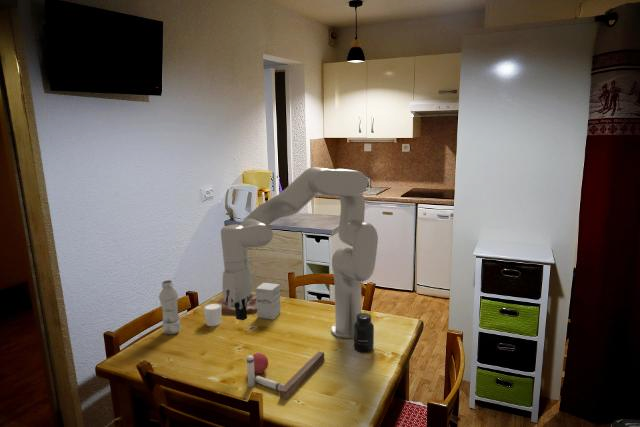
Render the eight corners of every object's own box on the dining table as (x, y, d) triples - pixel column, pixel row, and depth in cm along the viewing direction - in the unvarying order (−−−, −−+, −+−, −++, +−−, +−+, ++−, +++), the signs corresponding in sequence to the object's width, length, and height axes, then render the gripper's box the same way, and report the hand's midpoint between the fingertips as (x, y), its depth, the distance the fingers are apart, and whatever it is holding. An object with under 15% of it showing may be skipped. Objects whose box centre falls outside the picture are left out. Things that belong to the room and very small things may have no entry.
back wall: (324, 359, 145) (324, 352, 144) (285, 399, 124) (285, 391, 123) (318, 358, 146) (318, 351, 145) (279, 397, 125) (279, 389, 124)
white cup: (226, 321, 175) (225, 305, 174) (213, 328, 170) (212, 311, 168) (213, 318, 179) (212, 301, 178) (201, 324, 173) (199, 307, 172)
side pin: (256, 383, 132) (255, 356, 130) (252, 387, 130) (250, 359, 128) (250, 382, 133) (249, 354, 131) (246, 385, 131) (244, 357, 129)
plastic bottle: (176, 337, 163) (171, 285, 159) (159, 335, 165) (154, 284, 161) (184, 329, 169) (180, 279, 166) (168, 328, 171) (163, 278, 167)
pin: (258, 374, 133) (282, 382, 128) (260, 379, 134) (284, 387, 129) (254, 379, 131) (278, 387, 126) (255, 384, 132) (280, 392, 127)
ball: (256, 347, 137) (256, 351, 142) (244, 363, 134) (244, 367, 139) (272, 358, 136) (271, 362, 141) (261, 375, 133) (260, 378, 138)
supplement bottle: (360, 355, 146) (360, 321, 144) (349, 347, 152) (349, 314, 150) (377, 350, 150) (377, 317, 147) (366, 342, 156) (366, 310, 153)
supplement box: (256, 318, 178) (255, 288, 176) (265, 310, 185) (263, 281, 182) (273, 320, 175) (271, 289, 173) (281, 312, 182) (280, 283, 180)
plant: (224, 297, 201) (222, 274, 199) (266, 298, 200) (265, 274, 198) (210, 316, 182) (208, 290, 180) (257, 316, 180) (255, 290, 178)
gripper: (241, 256, 147) (246, 308, 151) (211, 270, 134) (217, 327, 138) (259, 258, 144) (264, 311, 147) (230, 273, 131) (236, 331, 134)
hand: (241, 318), depth 143 cm, fingers closed
